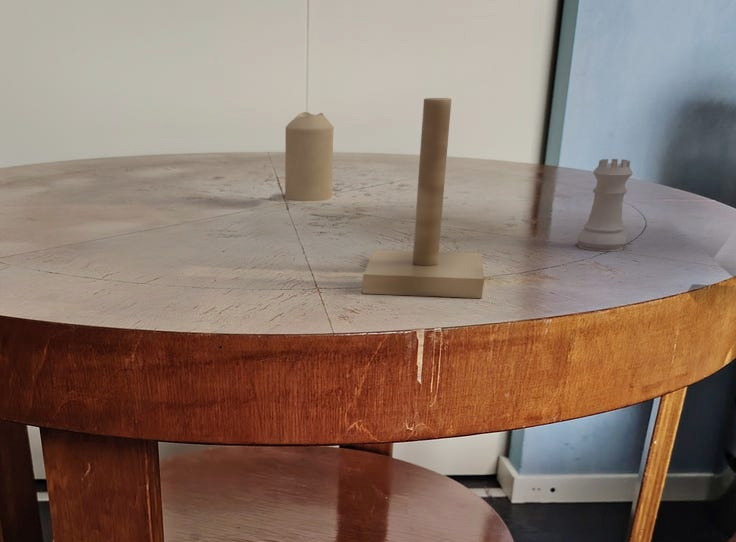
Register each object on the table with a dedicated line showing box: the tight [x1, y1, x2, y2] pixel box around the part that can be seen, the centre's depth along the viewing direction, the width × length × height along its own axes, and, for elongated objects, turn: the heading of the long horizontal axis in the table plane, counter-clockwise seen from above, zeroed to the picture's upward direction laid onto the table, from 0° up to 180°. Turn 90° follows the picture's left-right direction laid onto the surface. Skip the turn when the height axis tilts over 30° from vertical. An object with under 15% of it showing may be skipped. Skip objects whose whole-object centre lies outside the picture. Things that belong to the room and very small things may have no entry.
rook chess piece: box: [576, 158, 634, 252], centre depth 79 cm, size 4×4×8 cm
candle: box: [284, 111, 334, 202], centre depth 105 cm, size 6×6×10 cm
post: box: [362, 97, 485, 299], centre depth 69 cm, size 9×9×14 cm
